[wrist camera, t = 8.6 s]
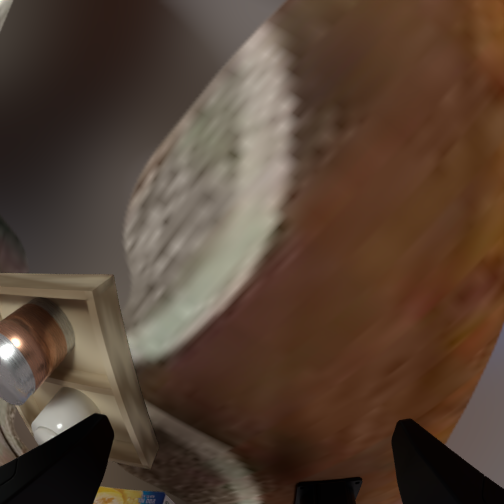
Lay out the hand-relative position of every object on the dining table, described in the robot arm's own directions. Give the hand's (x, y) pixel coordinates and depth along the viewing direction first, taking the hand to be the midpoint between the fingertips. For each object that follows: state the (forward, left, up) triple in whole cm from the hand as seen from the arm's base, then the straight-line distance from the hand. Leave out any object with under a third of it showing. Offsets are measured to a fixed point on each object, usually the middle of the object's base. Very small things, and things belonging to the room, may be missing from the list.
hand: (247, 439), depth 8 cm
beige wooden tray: (-8, +17, -12) cm, 22 cm away
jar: (-12, +17, -11) cm, 24 cm away
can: (-3, +17, -11) cm, 21 cm away
